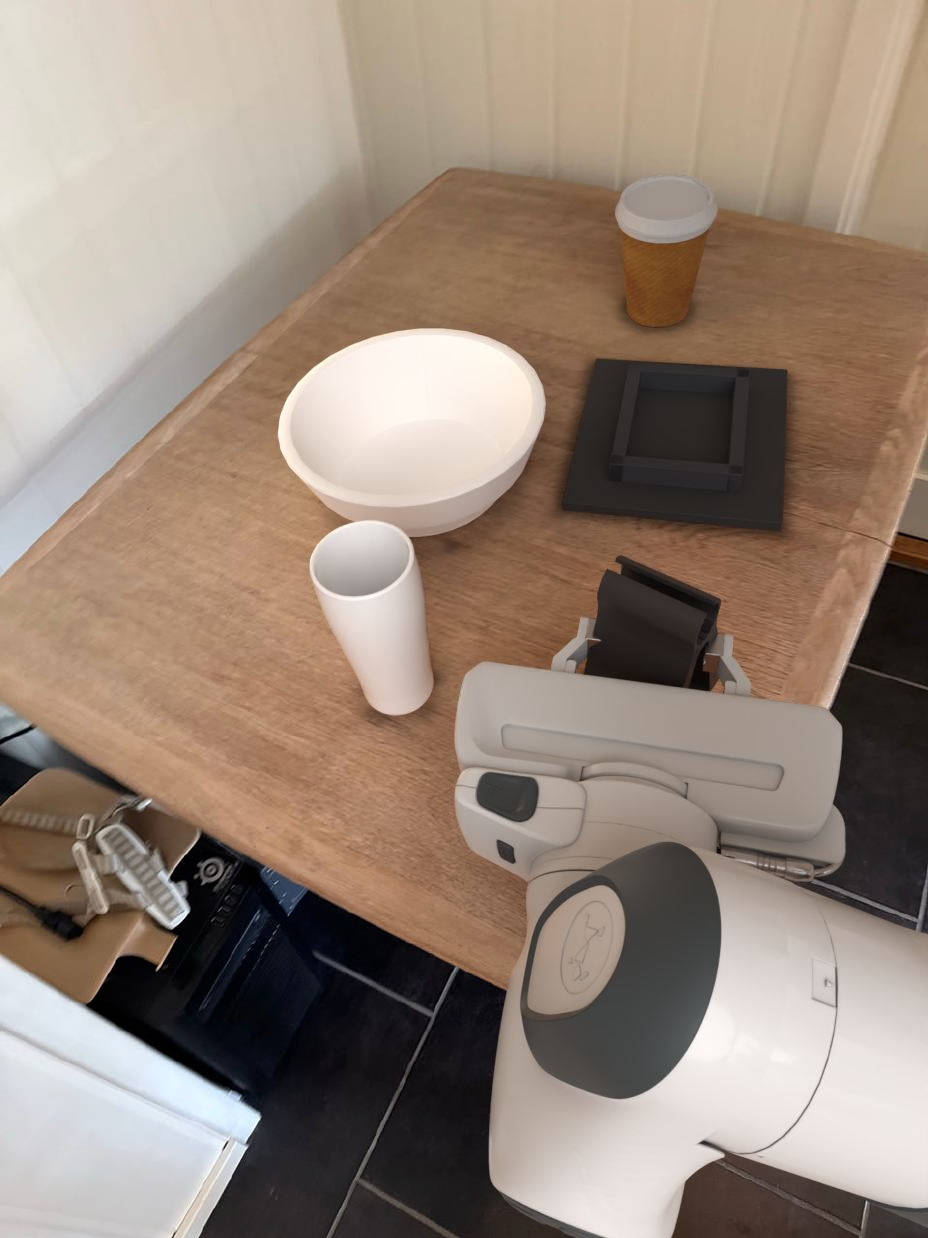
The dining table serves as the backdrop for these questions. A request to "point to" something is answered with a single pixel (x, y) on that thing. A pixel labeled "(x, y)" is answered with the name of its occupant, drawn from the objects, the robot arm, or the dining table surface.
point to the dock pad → (682, 444)
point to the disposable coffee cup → (663, 244)
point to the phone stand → (652, 629)
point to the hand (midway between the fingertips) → (654, 631)
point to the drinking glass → (376, 611)
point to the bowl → (414, 427)
